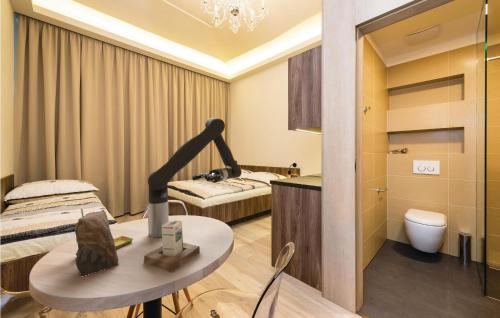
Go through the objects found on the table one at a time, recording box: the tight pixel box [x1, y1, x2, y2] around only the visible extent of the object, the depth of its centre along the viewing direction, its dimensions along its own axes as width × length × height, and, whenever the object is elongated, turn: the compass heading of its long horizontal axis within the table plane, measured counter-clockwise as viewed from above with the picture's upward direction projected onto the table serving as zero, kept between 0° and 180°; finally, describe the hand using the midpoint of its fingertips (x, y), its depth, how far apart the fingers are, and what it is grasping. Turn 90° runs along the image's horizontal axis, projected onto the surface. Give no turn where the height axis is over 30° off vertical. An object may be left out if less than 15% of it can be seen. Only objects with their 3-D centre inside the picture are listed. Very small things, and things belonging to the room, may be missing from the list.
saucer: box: [113, 235, 134, 249], centre depth 97 cm, size 9×9×2 cm
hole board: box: [143, 242, 201, 273], centre depth 83 cm, size 15×15×3 cm
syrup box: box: [161, 220, 184, 257], centre depth 83 cm, size 6×6×14 cm
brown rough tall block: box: [74, 209, 119, 277], centre depth 78 cm, size 13×13×20 cm
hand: (199, 178), depth 100 cm, fingers open, 8 cm apart
